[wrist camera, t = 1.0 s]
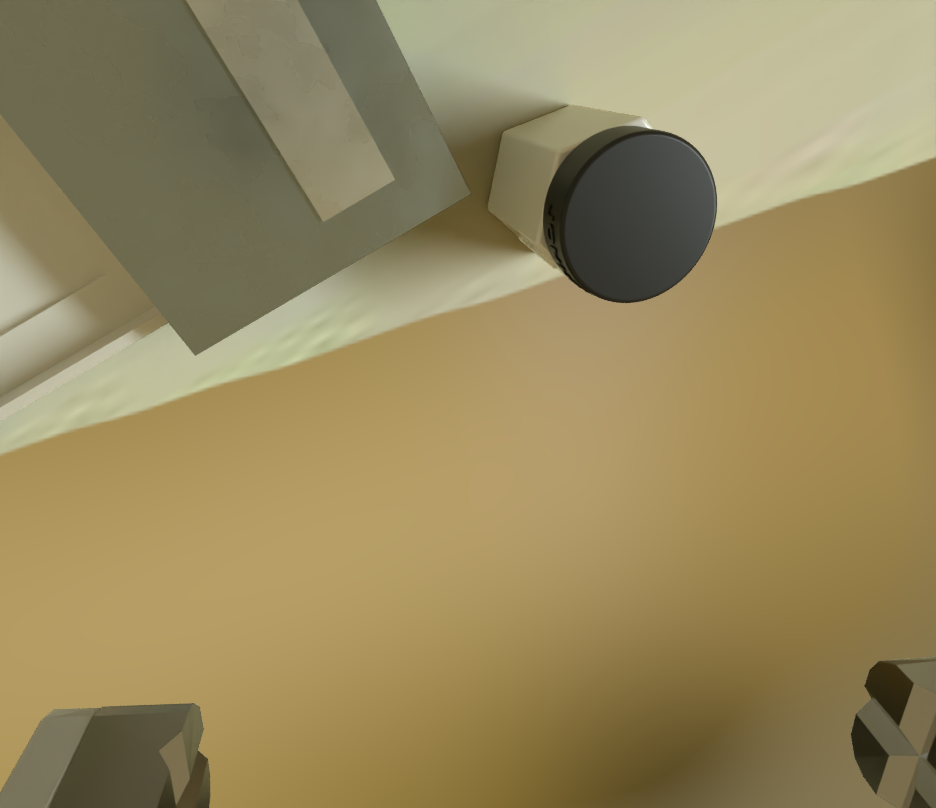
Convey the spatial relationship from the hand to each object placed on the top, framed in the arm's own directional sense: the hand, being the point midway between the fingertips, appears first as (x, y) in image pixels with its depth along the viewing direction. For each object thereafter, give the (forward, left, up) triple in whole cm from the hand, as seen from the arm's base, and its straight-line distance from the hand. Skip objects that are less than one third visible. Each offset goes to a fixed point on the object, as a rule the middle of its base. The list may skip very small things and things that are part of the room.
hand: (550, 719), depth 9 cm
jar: (+6, +12, -37) cm, 40 cm away
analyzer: (-6, -2, -37) cm, 38 cm away
